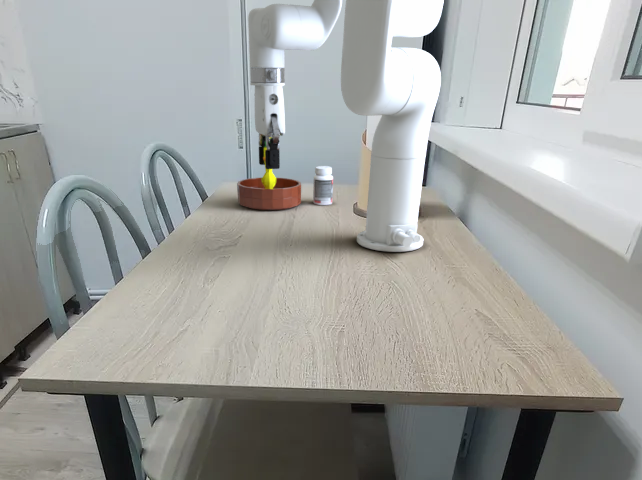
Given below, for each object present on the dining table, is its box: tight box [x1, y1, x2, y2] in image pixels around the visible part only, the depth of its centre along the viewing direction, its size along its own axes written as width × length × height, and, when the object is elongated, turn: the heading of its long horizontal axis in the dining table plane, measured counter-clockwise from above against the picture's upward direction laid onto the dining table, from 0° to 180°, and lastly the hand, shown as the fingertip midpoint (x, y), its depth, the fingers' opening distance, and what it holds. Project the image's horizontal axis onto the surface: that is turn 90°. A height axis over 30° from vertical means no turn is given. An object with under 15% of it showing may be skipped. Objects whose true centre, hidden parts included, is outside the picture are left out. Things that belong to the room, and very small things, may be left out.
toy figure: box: [260, 142, 276, 189], centre depth 125 cm, size 7×4×12 cm, turn 7°
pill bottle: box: [312, 165, 334, 206], centre depth 128 cm, size 5×5×8 cm
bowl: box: [236, 176, 302, 211], centre depth 127 cm, size 15×15×5 cm
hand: (269, 165), depth 124 cm, fingers closed on toy figure, 5 cm apart
